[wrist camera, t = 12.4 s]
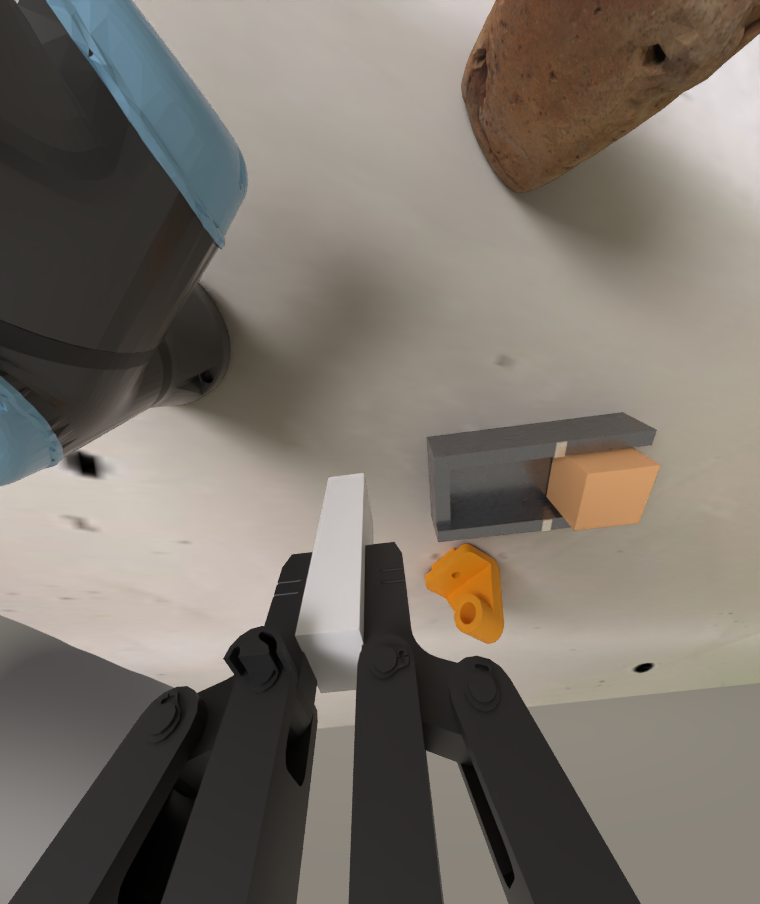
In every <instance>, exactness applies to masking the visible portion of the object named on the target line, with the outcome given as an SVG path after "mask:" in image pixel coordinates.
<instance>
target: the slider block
mask: <svg viewBox="0 0 760 904" xmlns="http://www.w3.org/2000/svg"><path fill="white" fill-rule="evenodd" d="M660 466H661V465H659V464H658V463H656V462H655V461H653V460H651V459H650V458H648V457H647V456H645V455H643V454H642V453H640V452H639V451H637V450H636V449H634V448H632V447H631V448H623V449H615V450H607V451H599V452H591V453H582V454H574V455H566V456H565V457H557V458H554V457H553V461H552V466H551V472H550V478H549V484H548V490H547V495H546V497H547V498H548V499H549V501H550V502H551V503H552V504H553V505H554V507H555V508H556V509H557V510H558V511H559V513H560V514H561V515H562V516H563V518H564V519H565V520H566V521H567V522H568V524H569V525H570V526H571V527H572V528H573V530H583V529H592V528H601V527H609V526H618V525H627V524H636V523H639V522H640V519H641V516H642V514H643V511H644V508H645V506H646V503H647V500H648V498H649V495H650V492H651V490H652V487H653V484H654V482H655V479H656V476H657V474H658V471H659V468H660Z"/></svg>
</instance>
